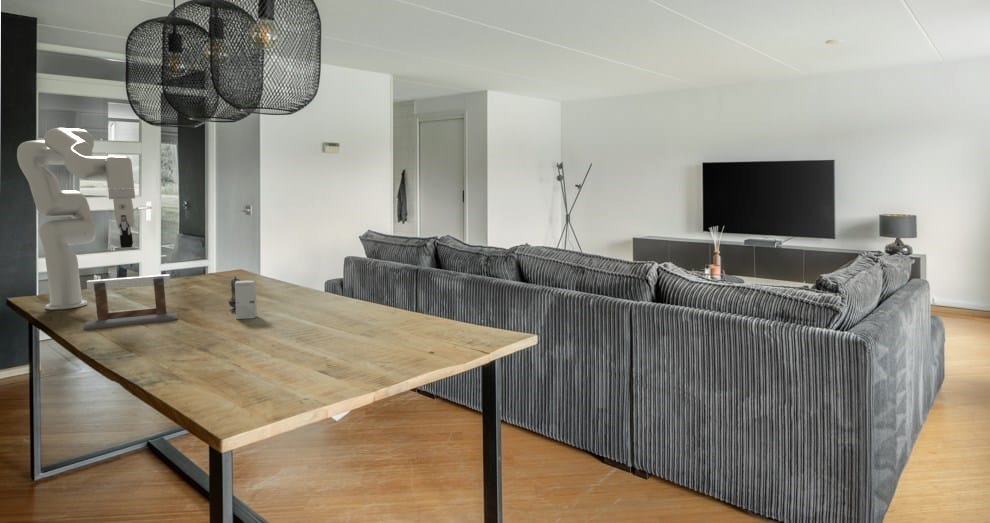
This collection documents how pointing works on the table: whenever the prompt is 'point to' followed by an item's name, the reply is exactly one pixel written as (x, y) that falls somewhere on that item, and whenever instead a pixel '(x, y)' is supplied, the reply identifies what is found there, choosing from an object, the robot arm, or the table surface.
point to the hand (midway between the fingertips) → (127, 246)
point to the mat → (130, 321)
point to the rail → (128, 282)
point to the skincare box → (245, 299)
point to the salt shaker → (233, 295)
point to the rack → (159, 309)
